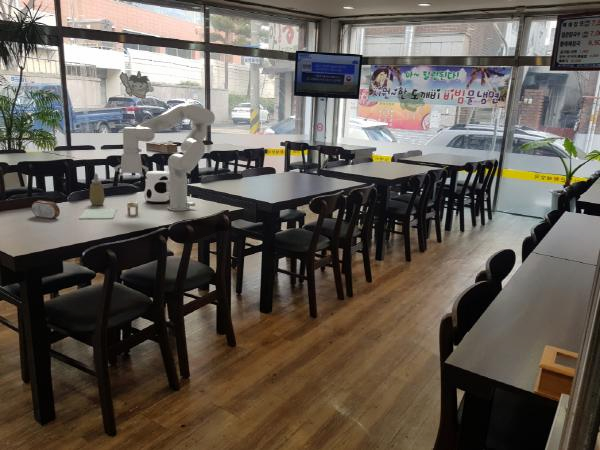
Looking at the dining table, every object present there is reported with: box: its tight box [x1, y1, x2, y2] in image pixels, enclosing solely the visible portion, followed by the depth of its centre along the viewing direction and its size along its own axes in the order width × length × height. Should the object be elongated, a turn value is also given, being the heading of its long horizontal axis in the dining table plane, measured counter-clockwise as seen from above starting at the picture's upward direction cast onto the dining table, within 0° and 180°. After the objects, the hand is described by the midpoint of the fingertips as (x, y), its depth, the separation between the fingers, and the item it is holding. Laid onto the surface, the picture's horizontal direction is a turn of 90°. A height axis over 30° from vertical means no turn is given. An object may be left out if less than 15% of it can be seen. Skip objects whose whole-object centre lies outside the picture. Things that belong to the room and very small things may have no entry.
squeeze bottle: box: [89, 173, 106, 206], centre depth 276 cm, size 8×8×18 cm
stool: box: [126, 200, 139, 216], centre depth 259 cm, size 5×5×6 cm
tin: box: [31, 200, 61, 220], centre depth 242 cm, size 15×3×8 cm, turn 74°
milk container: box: [143, 170, 170, 204], centre depth 293 cm, size 17×17×18 cm
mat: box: [78, 208, 118, 220], centre depth 256 cm, size 16×22×1 cm
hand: (131, 183), depth 256 cm, fingers open, 9 cm apart
